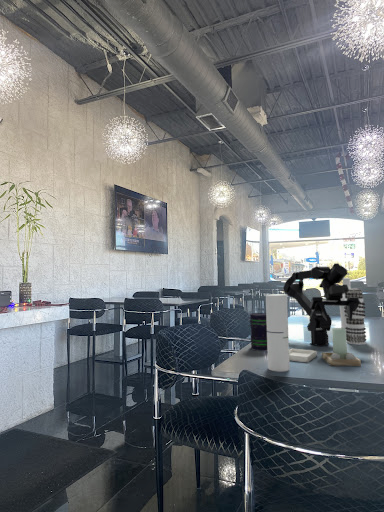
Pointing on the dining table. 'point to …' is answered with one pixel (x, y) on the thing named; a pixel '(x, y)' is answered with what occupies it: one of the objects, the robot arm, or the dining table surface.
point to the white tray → (301, 355)
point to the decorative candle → (355, 320)
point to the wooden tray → (340, 361)
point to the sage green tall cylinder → (339, 342)
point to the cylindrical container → (277, 332)
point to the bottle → (343, 319)
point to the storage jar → (258, 331)
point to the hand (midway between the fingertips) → (339, 320)
